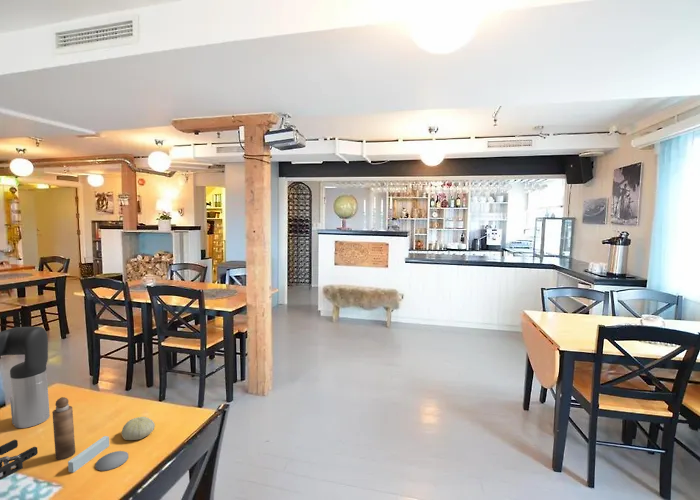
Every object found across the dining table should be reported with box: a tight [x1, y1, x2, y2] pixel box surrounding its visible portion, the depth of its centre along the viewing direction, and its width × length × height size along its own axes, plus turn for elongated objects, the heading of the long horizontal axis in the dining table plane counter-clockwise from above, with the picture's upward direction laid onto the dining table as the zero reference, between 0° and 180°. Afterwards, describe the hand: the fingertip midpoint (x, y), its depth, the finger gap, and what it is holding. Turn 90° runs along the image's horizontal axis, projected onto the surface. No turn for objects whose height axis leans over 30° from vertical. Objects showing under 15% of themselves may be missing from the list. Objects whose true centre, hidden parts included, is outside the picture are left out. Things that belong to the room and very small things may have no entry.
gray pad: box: [95, 450, 129, 472], centre depth 105 cm, size 8×8×1 cm
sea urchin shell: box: [121, 416, 156, 441], centre depth 118 cm, size 9×8×8 cm
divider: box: [67, 435, 110, 474], centre depth 106 cm, size 2×12×3 cm, turn 170°
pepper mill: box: [51, 397, 76, 461], centre depth 106 cm, size 5×5×18 cm
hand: (26, 446), depth 98 cm, fingers open, 8 cm apart
